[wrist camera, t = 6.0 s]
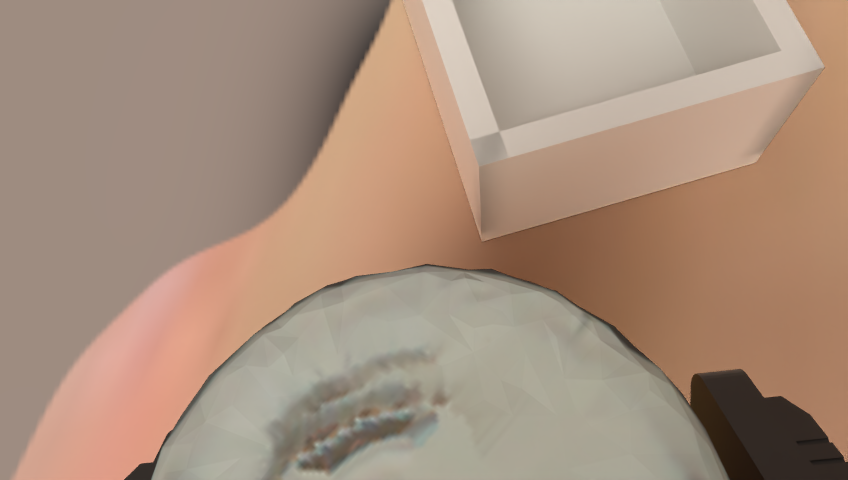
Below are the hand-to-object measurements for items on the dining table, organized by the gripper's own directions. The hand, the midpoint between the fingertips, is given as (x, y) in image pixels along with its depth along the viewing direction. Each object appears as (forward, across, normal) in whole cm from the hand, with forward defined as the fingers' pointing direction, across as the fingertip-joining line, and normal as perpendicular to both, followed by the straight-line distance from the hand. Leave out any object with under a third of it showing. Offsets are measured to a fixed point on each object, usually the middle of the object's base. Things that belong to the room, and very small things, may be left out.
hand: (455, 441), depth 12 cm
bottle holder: (+19, -6, -2) cm, 20 cm away
